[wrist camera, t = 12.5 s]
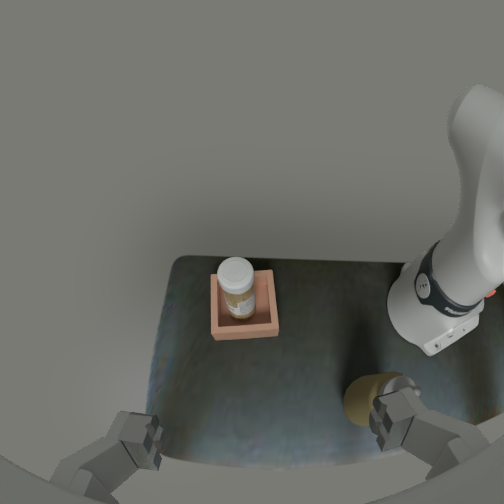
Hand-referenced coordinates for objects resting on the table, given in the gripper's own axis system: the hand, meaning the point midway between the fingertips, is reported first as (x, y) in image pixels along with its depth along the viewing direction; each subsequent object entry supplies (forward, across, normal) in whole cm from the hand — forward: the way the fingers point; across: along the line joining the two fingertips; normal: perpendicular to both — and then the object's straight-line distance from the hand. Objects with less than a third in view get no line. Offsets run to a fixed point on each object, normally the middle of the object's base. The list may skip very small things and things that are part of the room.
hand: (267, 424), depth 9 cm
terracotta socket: (+36, +2, +11) cm, 38 cm away
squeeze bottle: (+23, -15, +24) cm, 37 cm away
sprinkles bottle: (+36, +2, +11) cm, 37 cm away
